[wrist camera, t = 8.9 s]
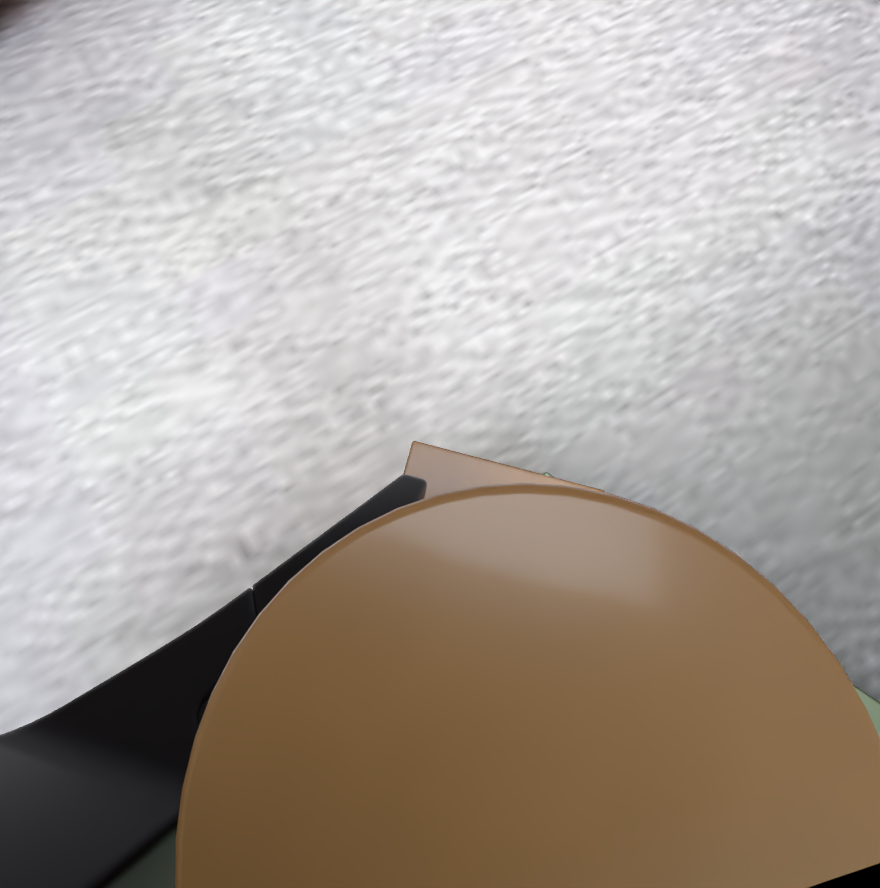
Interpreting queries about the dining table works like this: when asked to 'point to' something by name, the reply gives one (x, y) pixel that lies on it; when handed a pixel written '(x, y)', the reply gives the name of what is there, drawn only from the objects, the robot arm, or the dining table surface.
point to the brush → (529, 710)
